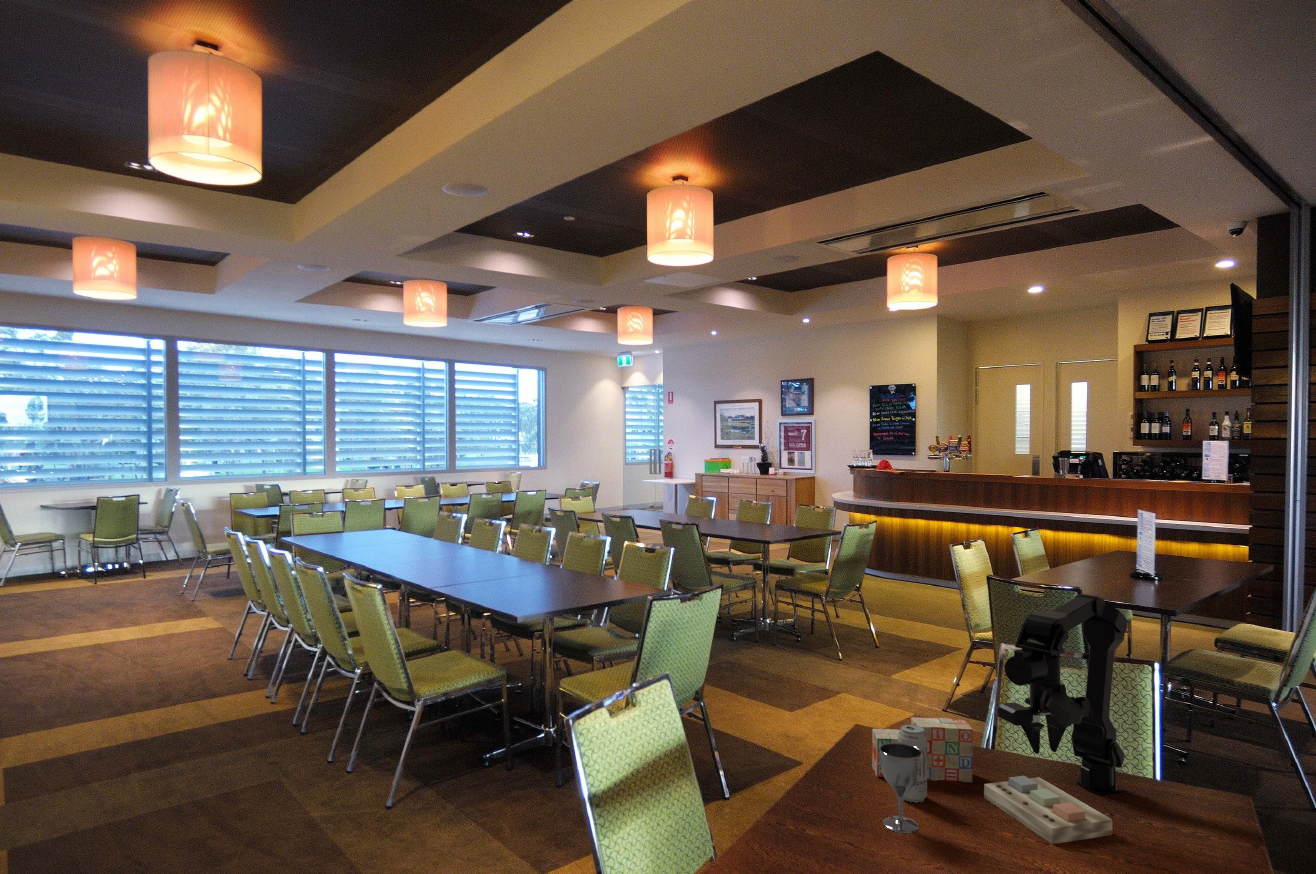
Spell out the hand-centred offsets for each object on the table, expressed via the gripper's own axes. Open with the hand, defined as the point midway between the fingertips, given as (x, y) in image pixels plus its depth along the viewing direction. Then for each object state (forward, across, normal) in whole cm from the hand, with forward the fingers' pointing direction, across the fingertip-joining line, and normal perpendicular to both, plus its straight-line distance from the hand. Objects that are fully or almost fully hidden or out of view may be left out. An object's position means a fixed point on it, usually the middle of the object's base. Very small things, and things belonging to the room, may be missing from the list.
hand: (1044, 752), depth 162 cm
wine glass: (+13, -31, +4) cm, 34 cm away
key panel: (+13, 0, 0) cm, 13 cm away
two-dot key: (+10, 0, -7) cm, 12 cm away
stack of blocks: (+13, -13, +24) cm, 30 cm away
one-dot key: (+10, 0, 0) cm, 10 cm away
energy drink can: (+13, -22, +14) cm, 29 cm away
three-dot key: (+10, 0, +7) cm, 12 cm away
